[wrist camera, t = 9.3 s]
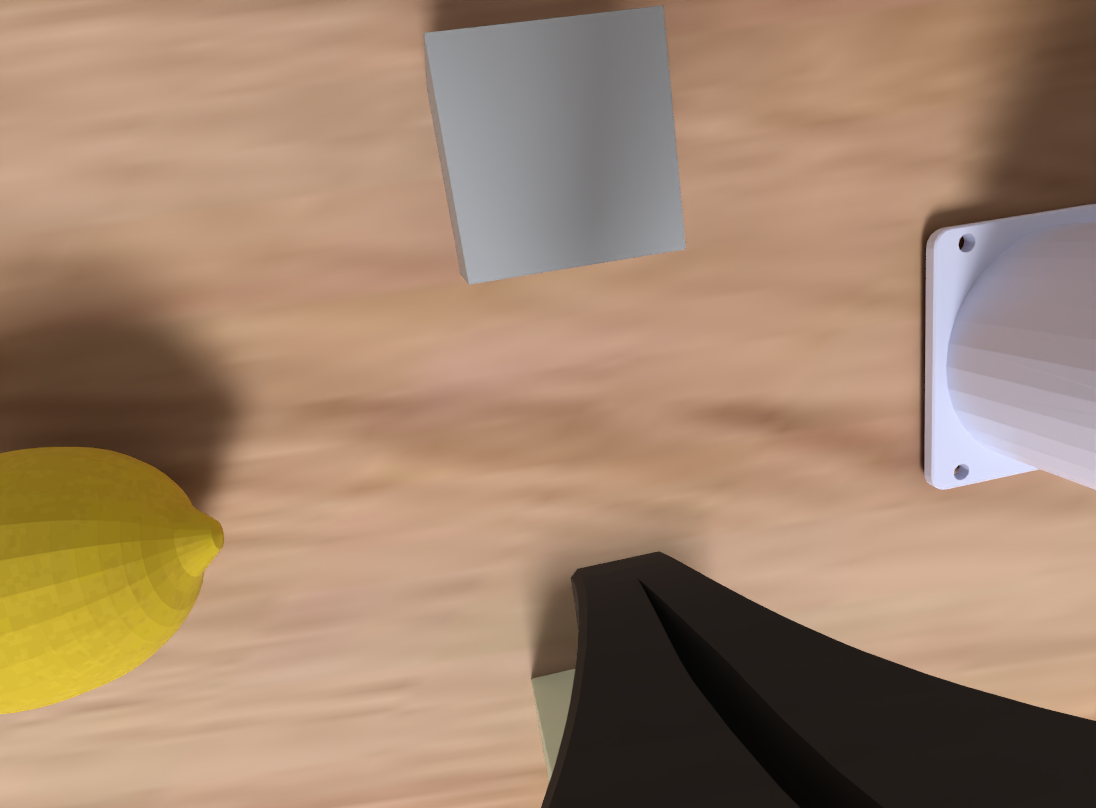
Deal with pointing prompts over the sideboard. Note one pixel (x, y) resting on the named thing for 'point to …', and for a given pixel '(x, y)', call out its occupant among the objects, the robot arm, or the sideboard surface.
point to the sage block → (552, 711)
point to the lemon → (91, 569)
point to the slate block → (556, 141)
